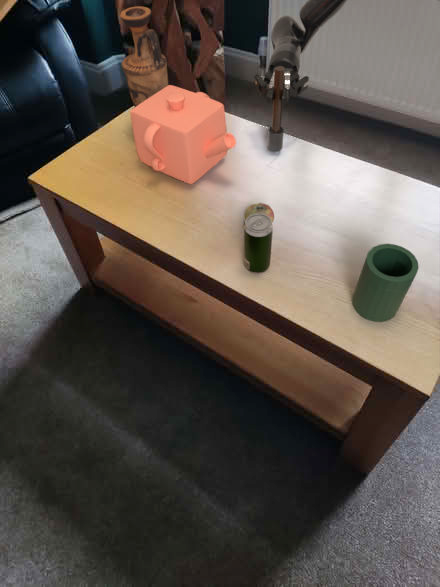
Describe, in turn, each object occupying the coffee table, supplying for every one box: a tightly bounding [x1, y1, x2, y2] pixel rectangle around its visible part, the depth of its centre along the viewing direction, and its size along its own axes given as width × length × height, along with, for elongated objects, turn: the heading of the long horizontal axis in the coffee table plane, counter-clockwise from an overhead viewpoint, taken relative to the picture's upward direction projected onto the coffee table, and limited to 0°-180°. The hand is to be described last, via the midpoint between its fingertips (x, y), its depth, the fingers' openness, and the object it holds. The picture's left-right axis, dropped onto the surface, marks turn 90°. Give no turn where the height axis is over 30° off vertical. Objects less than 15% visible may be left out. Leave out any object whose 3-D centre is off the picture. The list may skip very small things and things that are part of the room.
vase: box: [119, 5, 169, 108], centre depth 107 cm, size 11×11×30 cm
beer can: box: [243, 213, 274, 275], centre depth 84 cm, size 5×5×12 cm
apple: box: [243, 202, 275, 224], centre depth 93 cm, size 6×8×6 cm
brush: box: [267, 66, 285, 153], centre depth 103 cm, size 4×4×20 cm
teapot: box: [129, 84, 237, 185], centre depth 102 cm, size 25×23×18 cm
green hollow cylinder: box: [351, 243, 419, 323], centre depth 77 cm, size 8×8×12 cm
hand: (276, 101), depth 98 cm, fingers closed on brush, 2 cm apart
